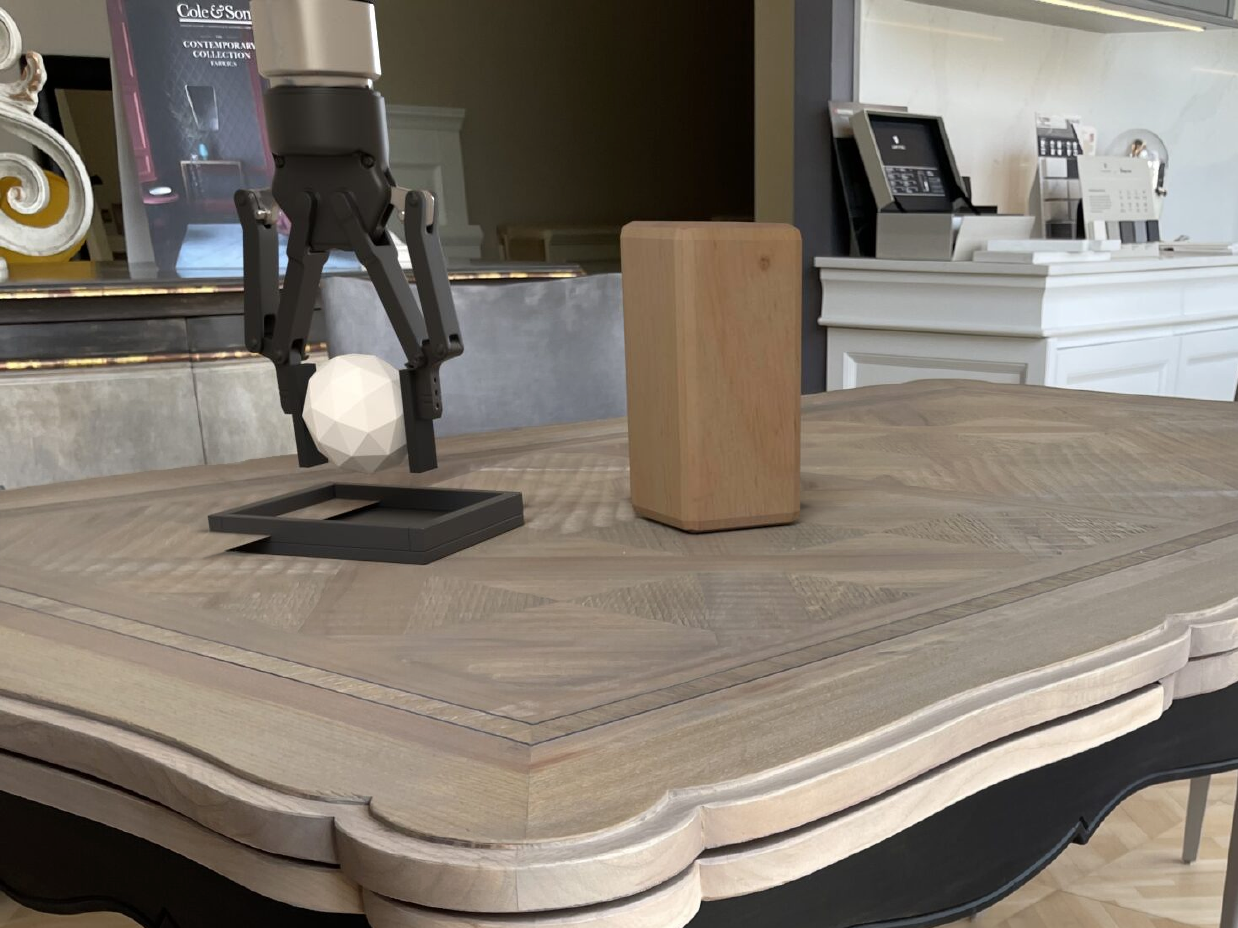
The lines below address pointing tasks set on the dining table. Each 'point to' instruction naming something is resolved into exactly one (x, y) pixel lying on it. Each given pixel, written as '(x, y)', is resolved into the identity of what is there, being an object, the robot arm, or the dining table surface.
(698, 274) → the wooden block
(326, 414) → the geometric ball
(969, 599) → the dining table surface
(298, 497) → the tray
